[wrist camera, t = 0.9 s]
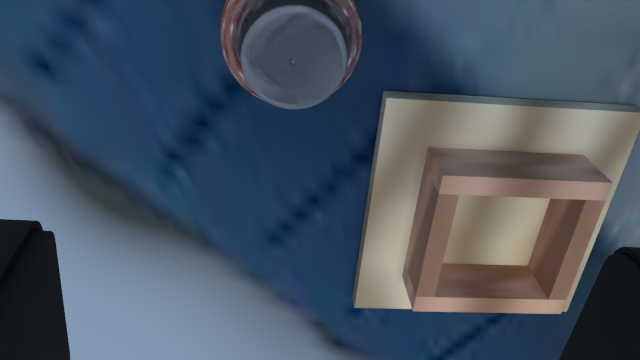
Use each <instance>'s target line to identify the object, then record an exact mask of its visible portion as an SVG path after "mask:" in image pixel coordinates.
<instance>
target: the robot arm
mask: <svg viewBox="0 0 640 360" xmlns="http://www.w3.org/2000/svg"><path fill="white" fill-rule="evenodd" d="M0 360H70V351H69V343H68V336H67V328H66V321H65V312H64V304H63V297H62V289H61V281H60V273H59V266H58V258H57V251H56V242H55V237H54V234H53V232H52V231H43V229H42V226H41V224H40V222H38V221H28V220H5V219H0ZM559 360H640V248H639V247H622V248H619V249H618V250H616V251H615V252H614V254H613V255H610V256H609V257H607V259H606V260H605V262H604V264H603V266H602V269H601V271H600V273H599V275H598V277H597V279H596V281H595V284H594V286H593V288H592V290H591V292H590V294H589V296H588V299H587V301H586V303H585V305H584V307H583V309H582V312H581V314H580V316H579V318H578V320H577V322H576V324H575V327H574V329H573V331H572V333H571V335H570V337H569V339H568V342H567V344H566V346H565V348H564V350H563V352H562V355H561V357H560V359H559Z"/></svg>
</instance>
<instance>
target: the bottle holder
mask: <svg viewBox="0 0 640 360" xmlns="http://www.w3.org/2000/svg"><path fill="white" fill-rule="evenodd" d="M639 130H640V108H638V107H637V106H636V105H619V104H602V103H585V102H568V101H551V100H534V99H517V98H500V97H483V96H466V95H449V94H432V93H415V92H398V91H383V96H382V103H381V110H380V116H379V123H378V130H377V136H376V143H375V150H374V156H373V163H372V170H371V176H370V183H369V190H368V196H367V203H366V210H365V216H364V223H363V229H362V236H361V243H360V249H359V256H358V263H357V269H356V276H355V283H354V289H353V296H352V297H353V302H354V308H393V309H412V311H431V312H485V313H539V314H561V312H567V310H568V307H569V305H570V302H571V300H572V297H573V295H574V292H575V290H576V287H577V285H578V282H579V280H580V277H581V275H582V272H583V270H584V267H585V265H586V262H587V260H588V257H589V255H590V252H591V250H592V247H593V245H594V242H595V240H596V237H597V235H598V232H599V230H600V227H601V225H602V222H603V220H604V217H605V215H606V212H607V210H608V207H609V205H610V202H611V200H612V198H613V195H614V193H615V190H616V188H617V185H618V183H619V180H620V178H621V175H622V173H623V170H624V168H625V165H626V163H627V160H628V158H629V155H630V153H631V150H632V148H633V145H634V143H635V140H636V138H637V135H638V133H639Z"/></svg>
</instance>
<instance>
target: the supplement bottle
mask: <svg viewBox="0 0 640 360" xmlns="http://www.w3.org/2000/svg"><path fill="white" fill-rule="evenodd" d="M362 35H363V33H362V25H361V20H360V16H359V13H358V10H357V7H356V5H355V3H354V1H353V0H226V3H225V5H224V9H223V13H222V17H221V23H220V41H221V48H222V52H223V56H224V59H225V61H226V64H227V66H228V68H229V70H230V71H231V73H232V75H233V76H234V77H235V78H236V80H237V81H238V82H239V83H240V85H241V86H243V87H244V88H245V89H246V90H247V91H249V92H250V93H251V94H253V95H254V96H256V97H258V98H259V99H262V100H264V101H266V102H267V103H269V104H271V105H274V106H277V107H279V108H284V109H304V108H309V107H312V106H314V105H317V104H319V103H321V102H322V101H324V100H325V99H326V98H328V97H329V96H330V95H331V94H332V93H334V92H336V90H338V89H339V88H340V87H341V86H342V85H343V84H344V83H345V82H346V80H347V79H348V78H349V77H350V75H351V73H352V71H353V70H354V68H355V66H356V64H357V61H358V58H359V55H360V52H361V47H362Z"/></svg>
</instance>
